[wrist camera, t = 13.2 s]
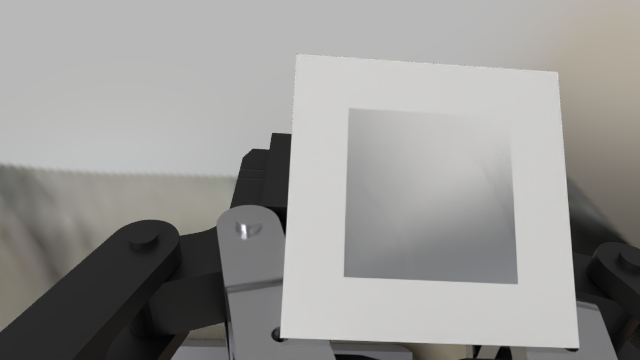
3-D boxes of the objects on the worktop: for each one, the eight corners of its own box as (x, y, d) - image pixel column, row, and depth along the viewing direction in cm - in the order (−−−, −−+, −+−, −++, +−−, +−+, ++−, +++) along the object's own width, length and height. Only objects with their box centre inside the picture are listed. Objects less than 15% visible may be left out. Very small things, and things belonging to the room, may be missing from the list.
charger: (286, 296, 16) (280, 338, 6) (292, 191, 17) (296, 53, 7) (393, 301, 17) (579, 349, 6) (394, 196, 18) (558, 72, 7)
